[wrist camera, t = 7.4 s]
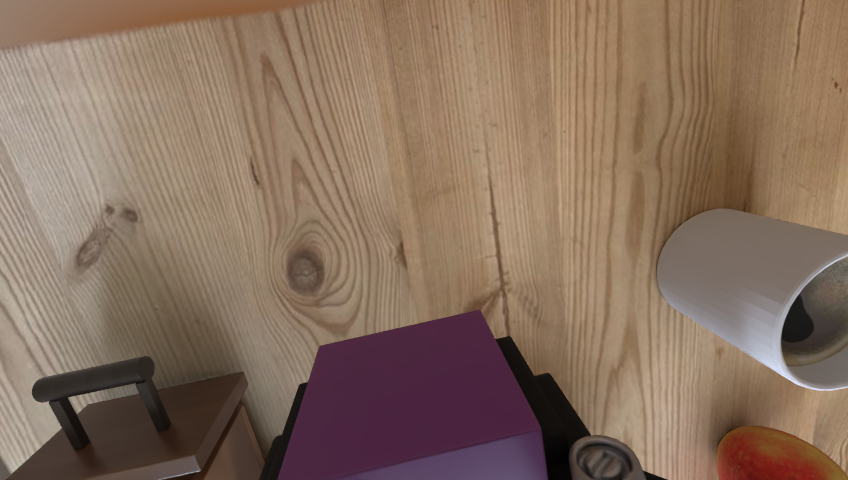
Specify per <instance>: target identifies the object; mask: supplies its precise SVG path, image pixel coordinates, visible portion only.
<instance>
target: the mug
mask: <svg viewBox="0 0 848 480" xmlns="http://www.w3.org/2000/svg"><path fill="white" fill-rule="evenodd" d="M657 282H658V286H659V289H660V292H661V294H662V296H663V297H664V299H665V300H666V301H667V303H668V304H669V305H670V306H672V307H673V308H674V309H676V310H677V311H679V312H681V313H682V314H684V315H685V316H687V317H689V318H690V319H692V320H693V321H695V322H697V323H698V324H700V325H701V326H703V327H705V328H706V329H708V330H710V331H711V332H713V333H714V334H716V335H718V336H719V337H721V338H722V339H724V340H726V341H727V342H729V343H730V344H732V345H734V346H735V347H737V348H739V349H740V350H742V351H743V352H745V353H747V354H748V355H750V356H751V357H753V358H755V359H756V360H758V361H759V362H761V363H763V364H764V365H766V366H768V367H769V368H771V369H772V370H774V371H776V372H777V373H779V374H780V375H782V376H784V377H785V378H787V379H788V380H790V381H792V382H794V383H795V384H797V385H799V386H802V387H805V388H809V389H813V390H822V391H825V390H837V389H842V388H846V387H848V235H844V234H839V233H835V232H830V231H826V230H822V229H817V228H813V227H809V226H804V225H800V224H795V223H791V222H787V221H782V220H778V219H774V218H769V217H765V216H760V215H756V214H752V213H747V212H743V211H739V210H734V209H725V208H719V209H713V210H709V211H705V212H702V213H700V214H697V215H695V216H693V217H692V218H690V219H688V220H687V221H685V222H684V223H683V224H682V225H681V226H679V227H678V228H677V229H676V230H675V231H674V232H673V234H672V235H671V236H670V237H669V239H668V240H667V242H666V243H665V245H664V247H663V249H662V251H661V254H660V257H659V260H658V265H657Z"/></svg>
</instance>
